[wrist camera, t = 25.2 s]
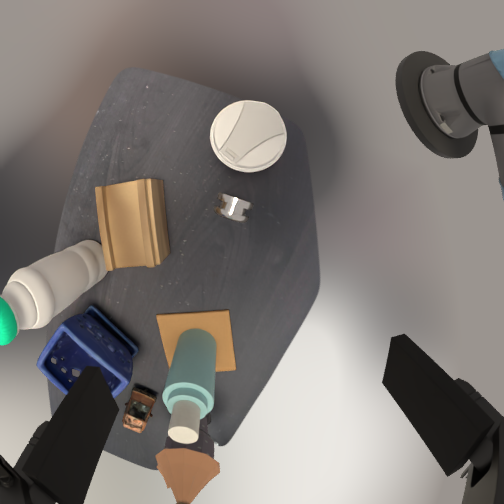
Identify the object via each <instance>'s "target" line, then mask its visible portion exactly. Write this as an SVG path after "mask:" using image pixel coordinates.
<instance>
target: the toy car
mask: <svg viewBox="0 0 504 504" xmlns="http://www.w3.org/2000/svg"><path fill="white" fill-rule="evenodd" d="M156 399H157V397H156V396H154V395H152V394H150V393H148V392H147V389H145V390H144V391H143V390H141V389H138V388H135V387H134V388H133V389H132V395H131V398H130V400H129V402H128V403H125V405H126V406H127V407H126V410H125V413H124V417H123V420H122V422H123V426H124V427H126V428H129V429H131V430H134V431H136V432H138V433H141V432H142V430H144V428H145V425H146V423H147V420H148V417H149V416H150V417H152V416H153V415H152V414H151V409H152V407H153V404H154V403H155V402H156Z"/></svg>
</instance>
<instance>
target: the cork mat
mask: <svg viewBox="0 0 504 504" xmlns="http://www.w3.org/2000/svg"><path fill="white" fill-rule="evenodd" d="M156 317H157V321H158V325H159V330H160V334H161V338H162V342H163V346H164V350H165V354H166V358H167V361H168V365H169V369H170V366H171V362H172V359H173V356H174V352H175V349H176V345H177V342H178V339H179V337H180V335H181V334H182V333H183V332H184V331H186V330H189V329H202V330H205V331H207V332H208V333H210V334H211V335H212V336H213V337H214V339H215V341H216V366H215V372H216V371H230V370H236V364H235V356H234V348H233V340H232V332H231V324H230V315H229V310H217V311H203V312H188V313H171V314H157V315H156Z"/></svg>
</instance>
